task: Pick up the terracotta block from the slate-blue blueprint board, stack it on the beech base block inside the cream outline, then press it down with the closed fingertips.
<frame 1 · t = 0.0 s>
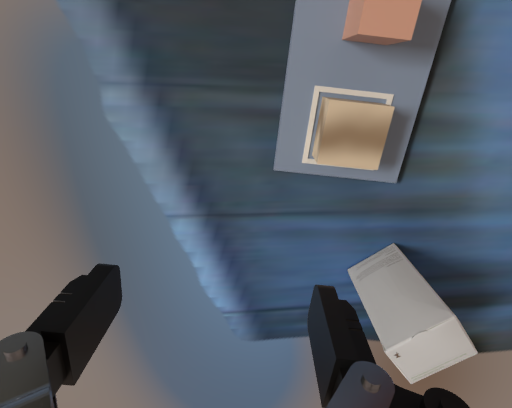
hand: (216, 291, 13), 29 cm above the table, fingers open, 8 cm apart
blueprint board: (354, 76, 36), on the table
skincare box: (379, 267, 47), on the table
beech base block: (345, 129, 38), point 1 cm above the table, touching blueprint board
terracotta block: (370, 16, 33), point 1 cm above the table, touching blueprint board
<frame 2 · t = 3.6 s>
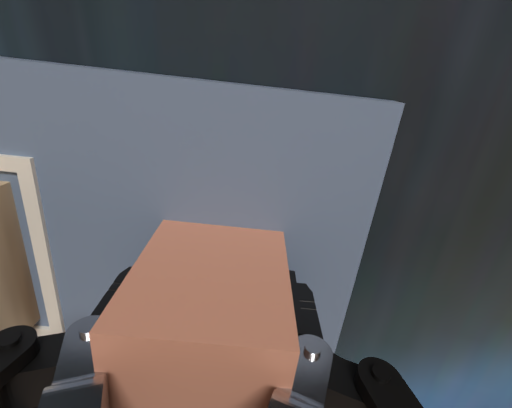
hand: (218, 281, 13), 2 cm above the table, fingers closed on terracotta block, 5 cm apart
blueprint board: (97, 248, 15), on the table
terracotta block: (220, 275, 14), point 1 cm above the table, touching blueprint board, gripper
when the fingers open (7 cm above the table, at t = 9.6 s): terracotta block drops 1 cm, resting on beech base block.
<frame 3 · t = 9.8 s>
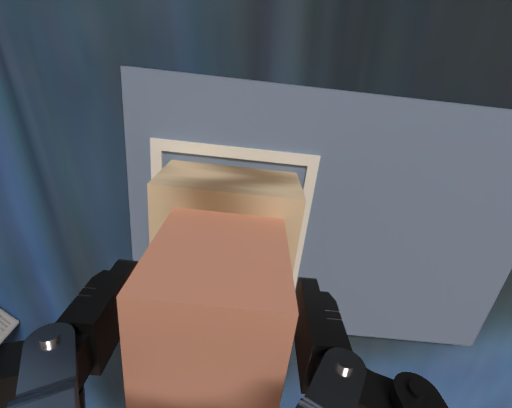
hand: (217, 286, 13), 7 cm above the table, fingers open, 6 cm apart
blueprint board: (324, 223, 20), on the table
beech base block: (229, 222, 19), point 1 cm above the table, touching blueprint board, terracotta block
terracotta block: (225, 259, 15), point 5 cm above the table, touching beech base block
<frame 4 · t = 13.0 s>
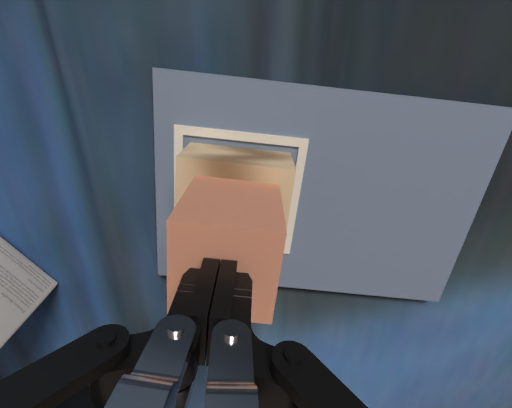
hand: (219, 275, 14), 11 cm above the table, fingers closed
blueprint board: (314, 196, 24), on the table
skincare box: (6, 268, 28), on the table
beech base block: (236, 193, 23), point 1 cm above the table, touching blueprint board, terracotta block
terracotta block: (234, 217, 19), point 5 cm above the table, touching beech base block, gripper
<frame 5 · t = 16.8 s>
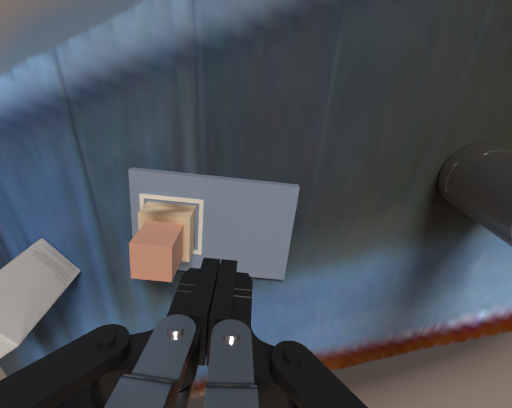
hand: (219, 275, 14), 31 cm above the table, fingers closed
blueprint board: (213, 225, 48), on the table
skincare box: (52, 262, 51), on the table
beech base block: (171, 225, 46), point 1 cm above the table, touching blueprint board, terracotta block
terracotta block: (165, 238, 43), point 5 cm above the table, touching beech base block
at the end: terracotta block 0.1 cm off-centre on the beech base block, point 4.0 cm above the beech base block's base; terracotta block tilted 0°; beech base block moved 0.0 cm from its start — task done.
